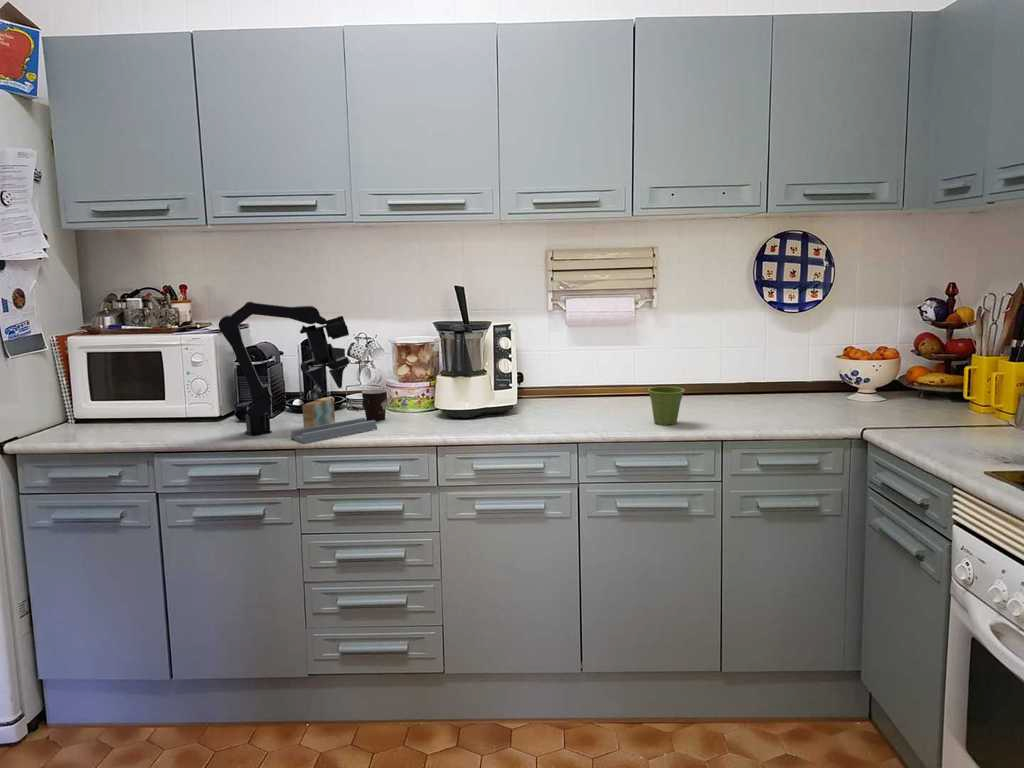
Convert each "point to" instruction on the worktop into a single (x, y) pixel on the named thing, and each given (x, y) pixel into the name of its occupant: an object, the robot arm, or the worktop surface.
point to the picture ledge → (332, 430)
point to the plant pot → (665, 404)
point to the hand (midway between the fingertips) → (331, 388)
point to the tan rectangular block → (318, 412)
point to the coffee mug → (374, 404)
